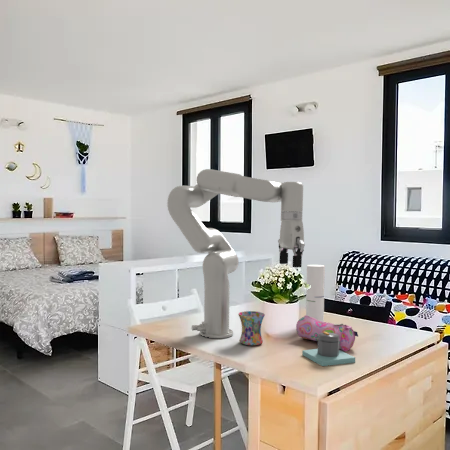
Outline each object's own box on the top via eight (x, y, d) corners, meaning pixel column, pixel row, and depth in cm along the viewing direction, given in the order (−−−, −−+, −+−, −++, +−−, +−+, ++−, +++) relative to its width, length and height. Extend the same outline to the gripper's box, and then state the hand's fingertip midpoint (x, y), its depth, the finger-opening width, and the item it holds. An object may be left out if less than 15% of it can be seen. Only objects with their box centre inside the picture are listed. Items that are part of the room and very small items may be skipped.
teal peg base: (322, 366, 146) (322, 350, 146) (302, 354, 157) (302, 339, 157) (355, 362, 150) (355, 346, 150) (333, 351, 161) (333, 336, 161)
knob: (342, 355, 152) (343, 335, 152) (325, 357, 150) (325, 337, 149) (331, 349, 158) (331, 330, 158) (314, 351, 156) (314, 332, 155)
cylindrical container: (325, 328, 193) (326, 266, 192) (307, 328, 193) (308, 266, 193) (321, 324, 200) (322, 264, 200) (304, 323, 201) (305, 264, 200)
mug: (265, 347, 165) (266, 316, 165) (238, 347, 165) (239, 316, 165) (262, 338, 177) (262, 309, 177) (237, 337, 177) (237, 309, 177)
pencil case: (358, 349, 165) (359, 323, 165) (342, 354, 159) (342, 327, 159) (310, 336, 181) (311, 312, 181) (294, 340, 176) (294, 315, 175)
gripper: (313, 217, 162) (312, 268, 162) (289, 216, 178) (287, 262, 178) (294, 217, 159) (292, 268, 160) (271, 216, 175) (269, 262, 176)
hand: (290, 265), depth 169 cm, fingers open, 9 cm apart
